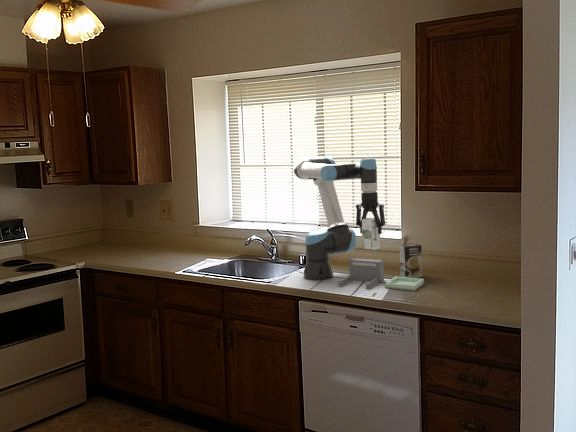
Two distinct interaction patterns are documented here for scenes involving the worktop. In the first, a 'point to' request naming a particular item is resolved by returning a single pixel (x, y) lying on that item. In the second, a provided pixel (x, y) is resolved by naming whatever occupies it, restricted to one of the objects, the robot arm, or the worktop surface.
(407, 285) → the tray
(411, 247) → the coffee box
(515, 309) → the worktop surface
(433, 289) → the worktop surface
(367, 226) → the syrup box
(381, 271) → the bay
